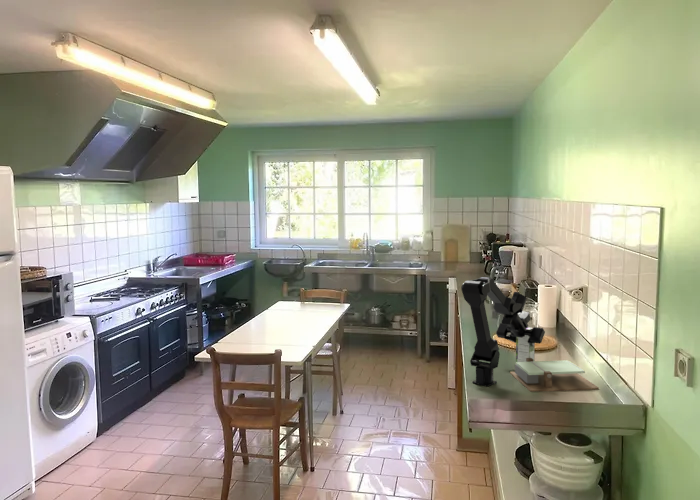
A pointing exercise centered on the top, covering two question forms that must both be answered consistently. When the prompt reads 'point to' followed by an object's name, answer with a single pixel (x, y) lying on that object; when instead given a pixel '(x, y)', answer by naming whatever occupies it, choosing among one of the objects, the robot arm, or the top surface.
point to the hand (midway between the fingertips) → (526, 344)
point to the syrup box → (524, 348)
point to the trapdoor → (544, 369)
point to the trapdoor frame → (556, 382)
